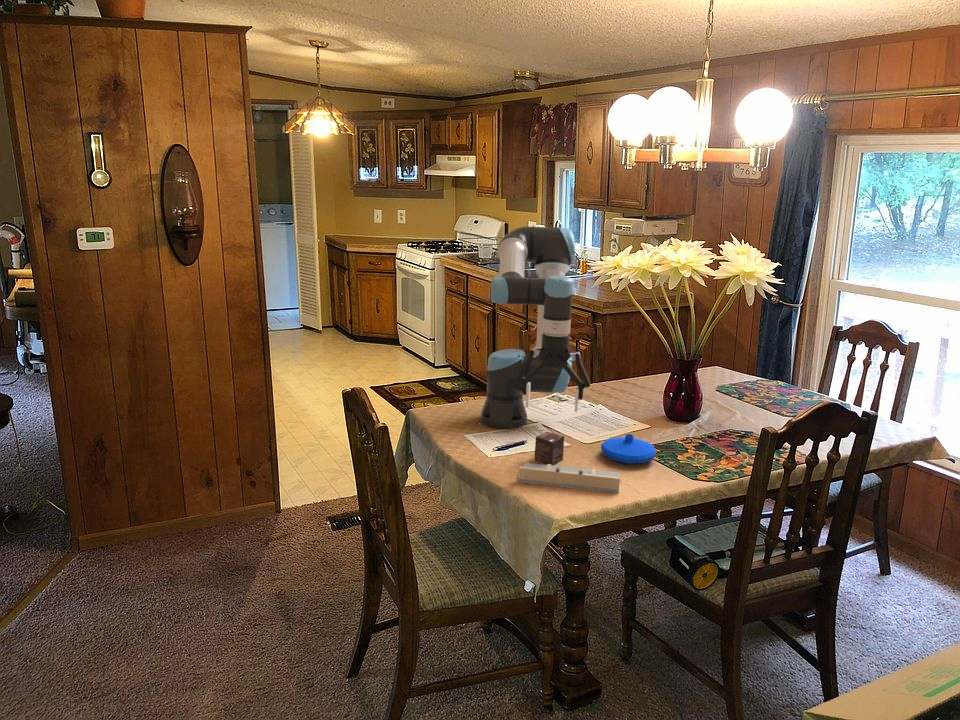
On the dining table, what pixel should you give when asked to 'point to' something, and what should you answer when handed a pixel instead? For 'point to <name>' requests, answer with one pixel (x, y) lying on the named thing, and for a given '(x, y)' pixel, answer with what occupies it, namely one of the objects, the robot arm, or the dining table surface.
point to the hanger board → (569, 477)
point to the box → (549, 448)
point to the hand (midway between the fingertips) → (551, 408)
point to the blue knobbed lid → (628, 449)
